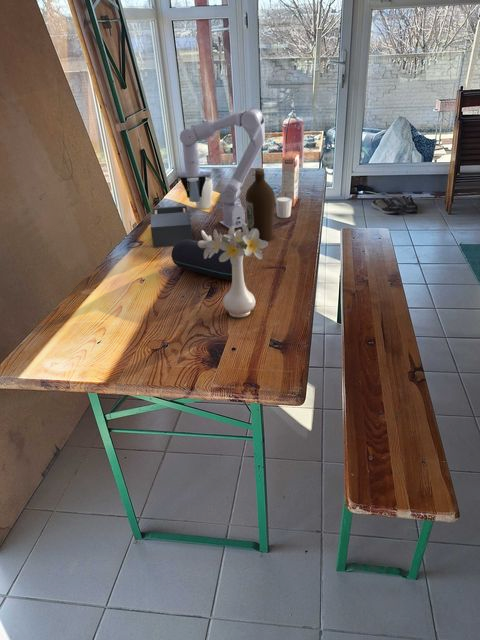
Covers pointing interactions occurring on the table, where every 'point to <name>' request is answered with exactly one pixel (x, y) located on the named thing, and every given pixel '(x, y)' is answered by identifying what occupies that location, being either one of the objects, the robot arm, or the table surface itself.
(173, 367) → the table surface
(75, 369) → the table surface
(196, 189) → the jug
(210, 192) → the cup
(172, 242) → the cabinet
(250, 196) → the olive oil
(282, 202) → the shot glass
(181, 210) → the drawer
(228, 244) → the flower vase
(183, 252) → the portable speaker
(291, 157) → the cracker box
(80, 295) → the table surface
